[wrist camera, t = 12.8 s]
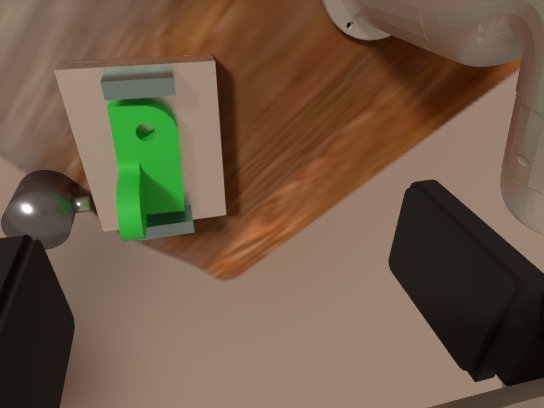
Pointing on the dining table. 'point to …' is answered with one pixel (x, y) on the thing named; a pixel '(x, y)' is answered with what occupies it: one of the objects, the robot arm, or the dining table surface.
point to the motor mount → (101, 153)
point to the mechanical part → (145, 163)
